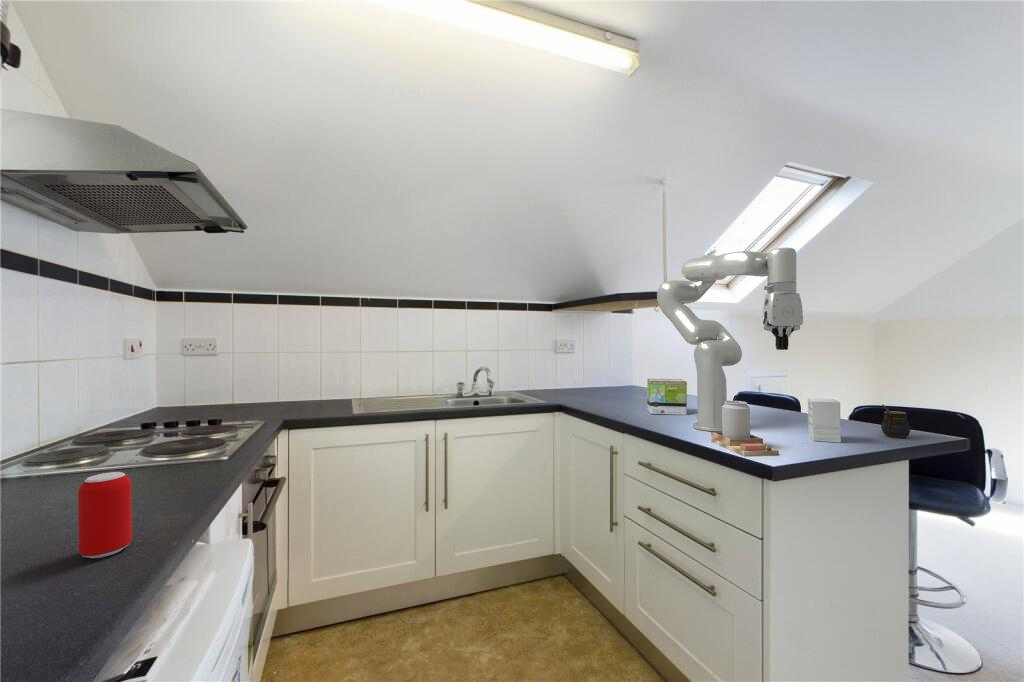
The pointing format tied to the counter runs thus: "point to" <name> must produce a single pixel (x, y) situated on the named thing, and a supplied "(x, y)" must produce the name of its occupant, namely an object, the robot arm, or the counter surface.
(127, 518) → the beverage can
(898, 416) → the mate gourd
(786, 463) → the counter surface
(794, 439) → the counter surface
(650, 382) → the tea box
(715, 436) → the base
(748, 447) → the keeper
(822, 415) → the supplement box
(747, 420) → the can
